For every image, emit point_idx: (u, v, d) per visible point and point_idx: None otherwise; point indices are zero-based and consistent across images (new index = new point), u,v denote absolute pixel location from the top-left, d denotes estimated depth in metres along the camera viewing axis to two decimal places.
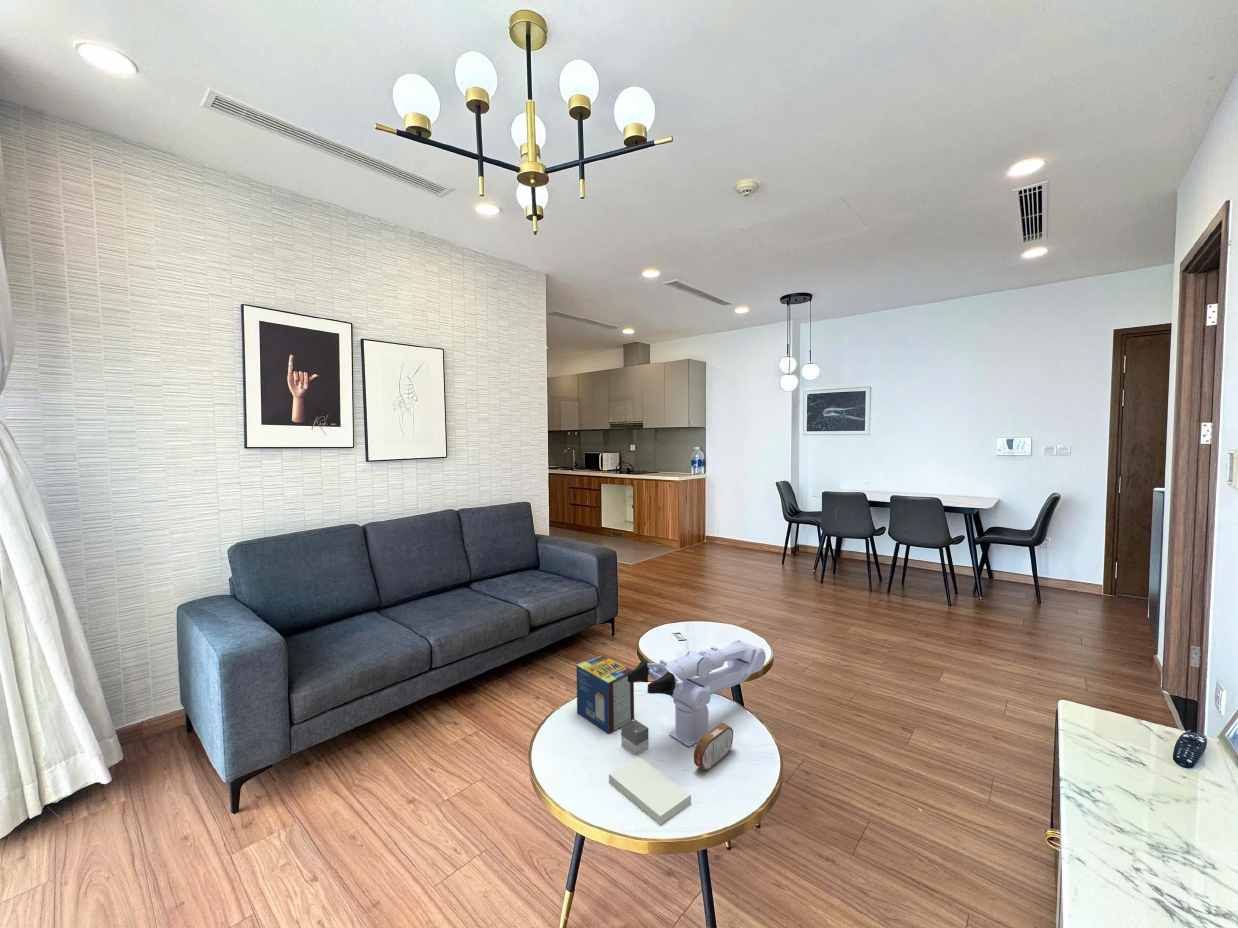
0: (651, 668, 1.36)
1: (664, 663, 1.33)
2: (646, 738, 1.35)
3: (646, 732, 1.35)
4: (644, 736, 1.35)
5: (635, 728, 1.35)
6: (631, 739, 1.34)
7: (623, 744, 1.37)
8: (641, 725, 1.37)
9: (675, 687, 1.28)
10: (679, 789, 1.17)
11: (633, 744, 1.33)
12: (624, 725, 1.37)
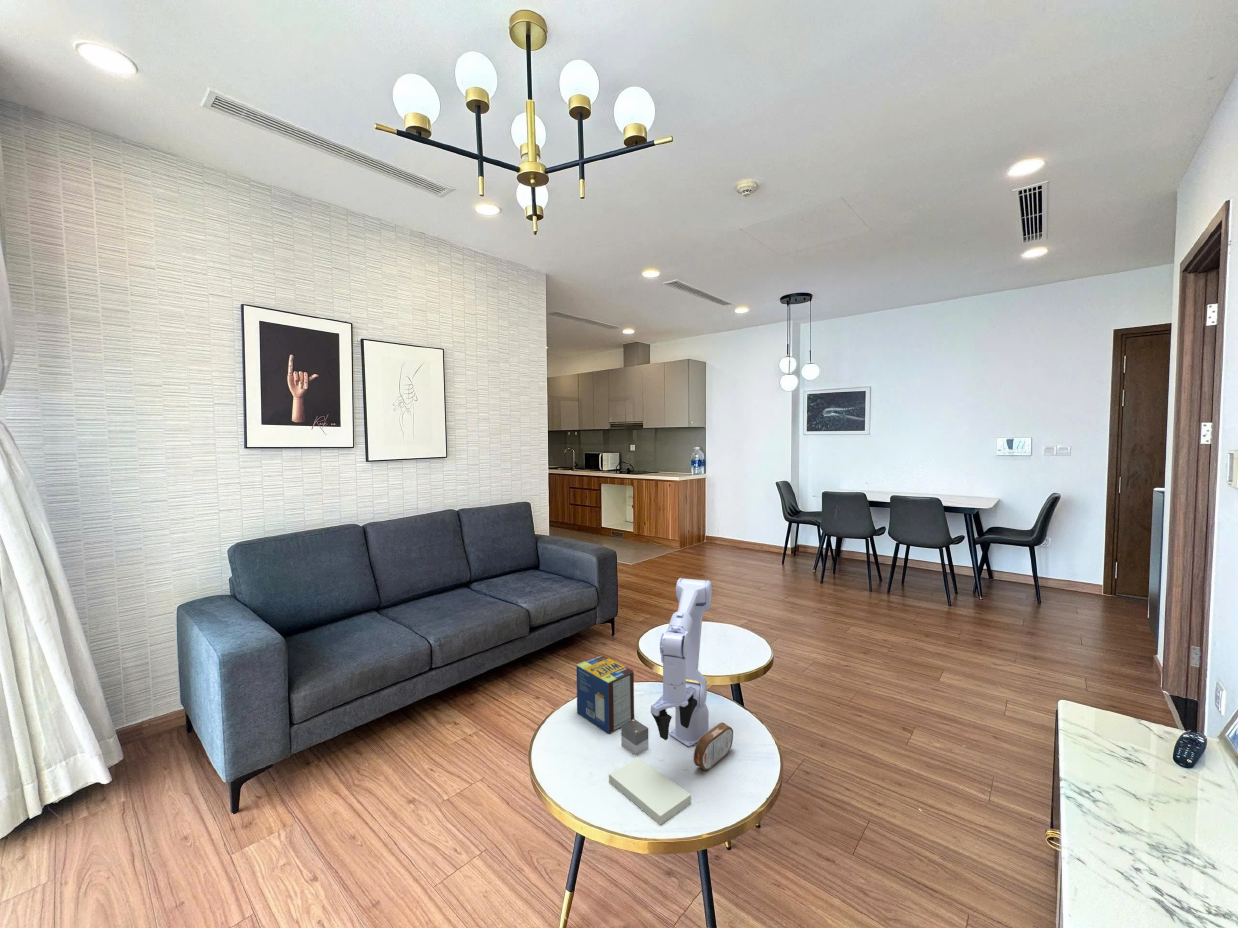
0: None
1: None
2: (646, 738, 1.35)
3: (646, 732, 1.35)
4: (644, 736, 1.35)
5: (635, 728, 1.35)
6: (631, 739, 1.34)
7: (623, 744, 1.37)
8: (641, 725, 1.37)
9: None
10: (679, 789, 1.17)
11: (633, 744, 1.33)
12: (624, 725, 1.37)
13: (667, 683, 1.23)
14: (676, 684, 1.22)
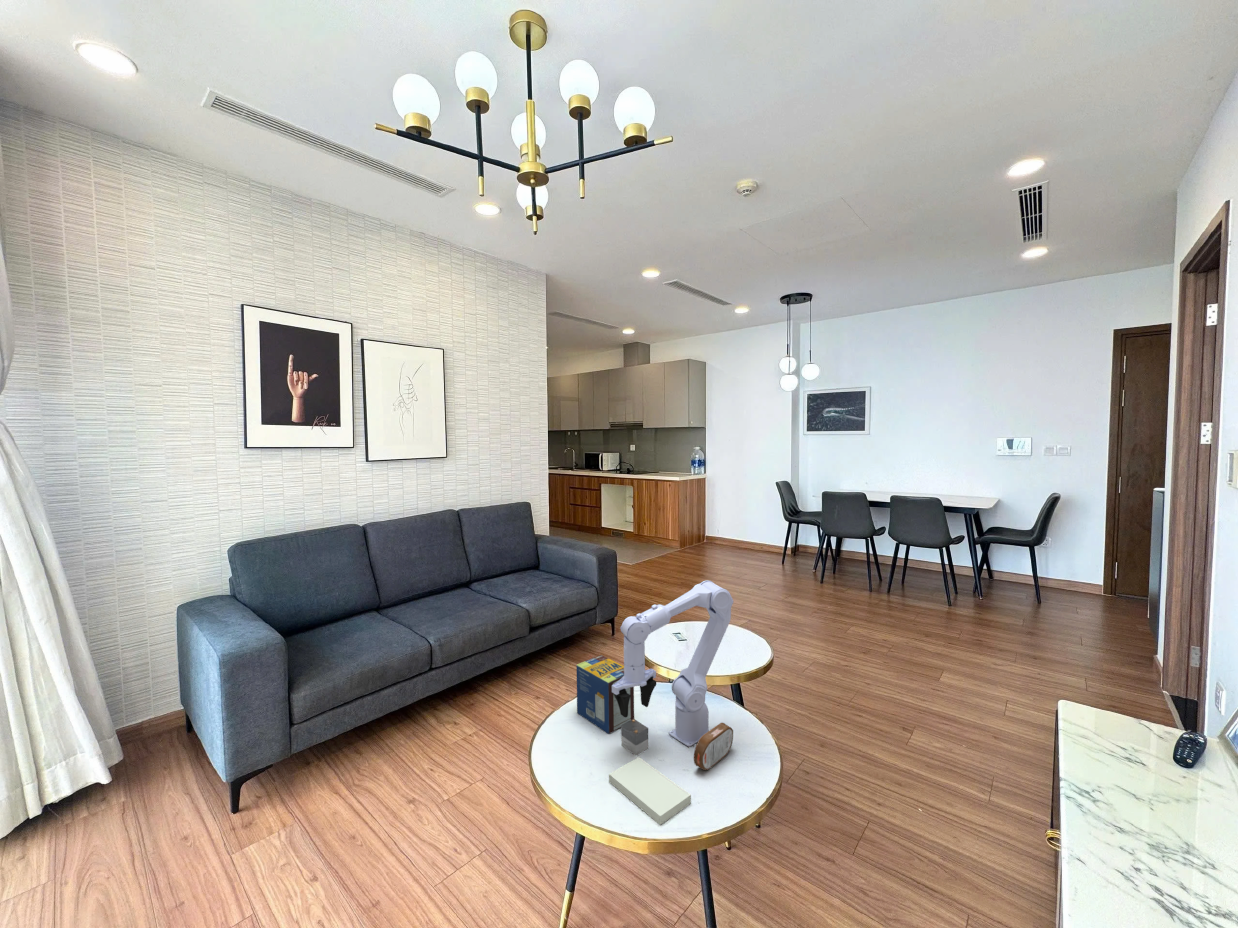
0: None
1: None
2: (646, 738, 1.35)
3: (646, 732, 1.35)
4: (644, 736, 1.35)
5: (635, 728, 1.35)
6: (631, 739, 1.34)
7: (623, 744, 1.37)
8: (641, 725, 1.37)
9: None
10: (679, 789, 1.17)
11: (633, 744, 1.33)
12: (624, 725, 1.37)
13: (627, 665, 1.33)
14: (626, 664, 1.33)
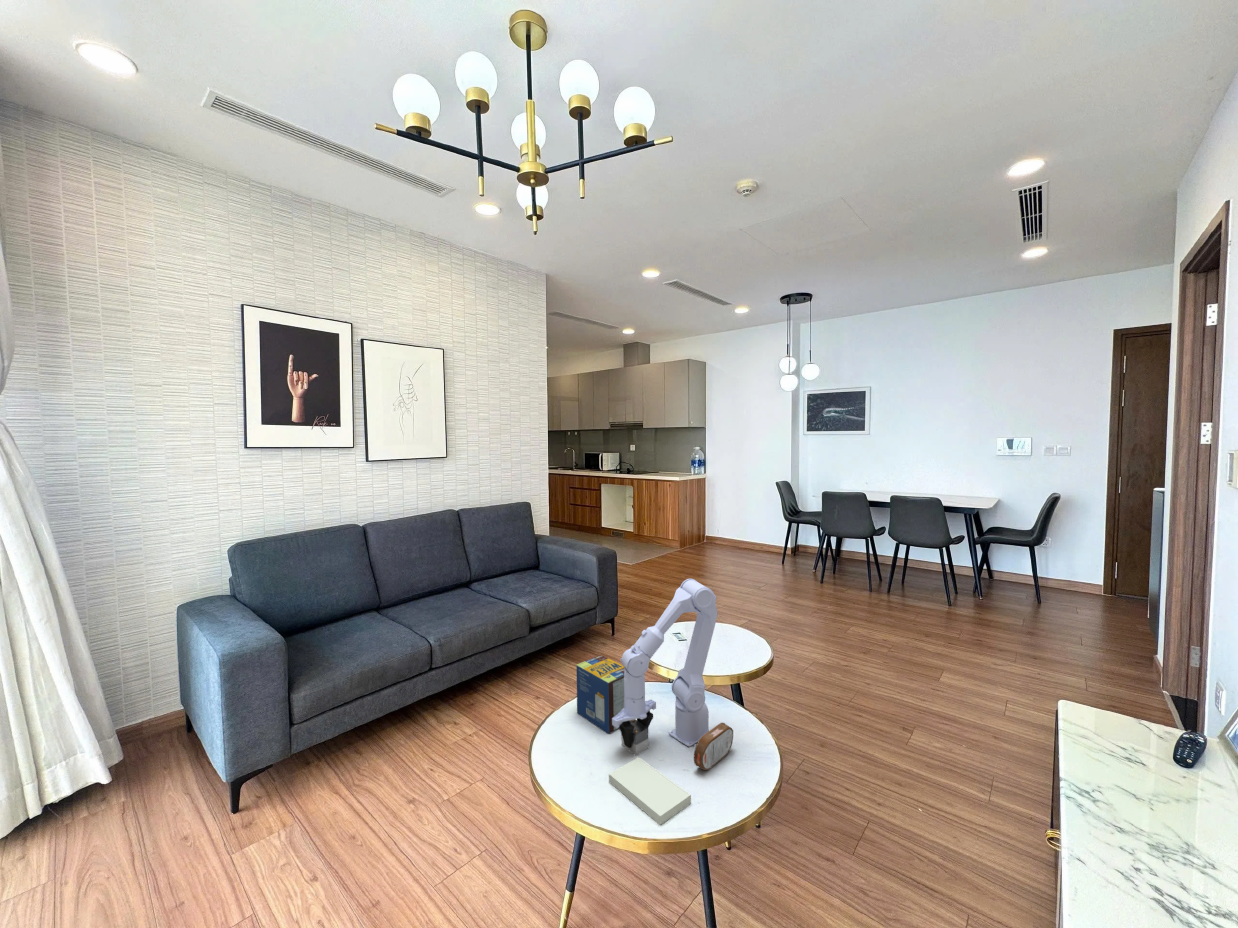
0: None
1: None
2: (646, 738, 1.35)
3: (646, 732, 1.35)
4: (644, 736, 1.35)
5: (635, 728, 1.35)
6: None
7: (623, 744, 1.37)
8: (641, 725, 1.37)
9: None
10: (679, 789, 1.17)
11: (633, 744, 1.33)
12: None
13: (627, 697, 1.34)
14: (627, 696, 1.34)
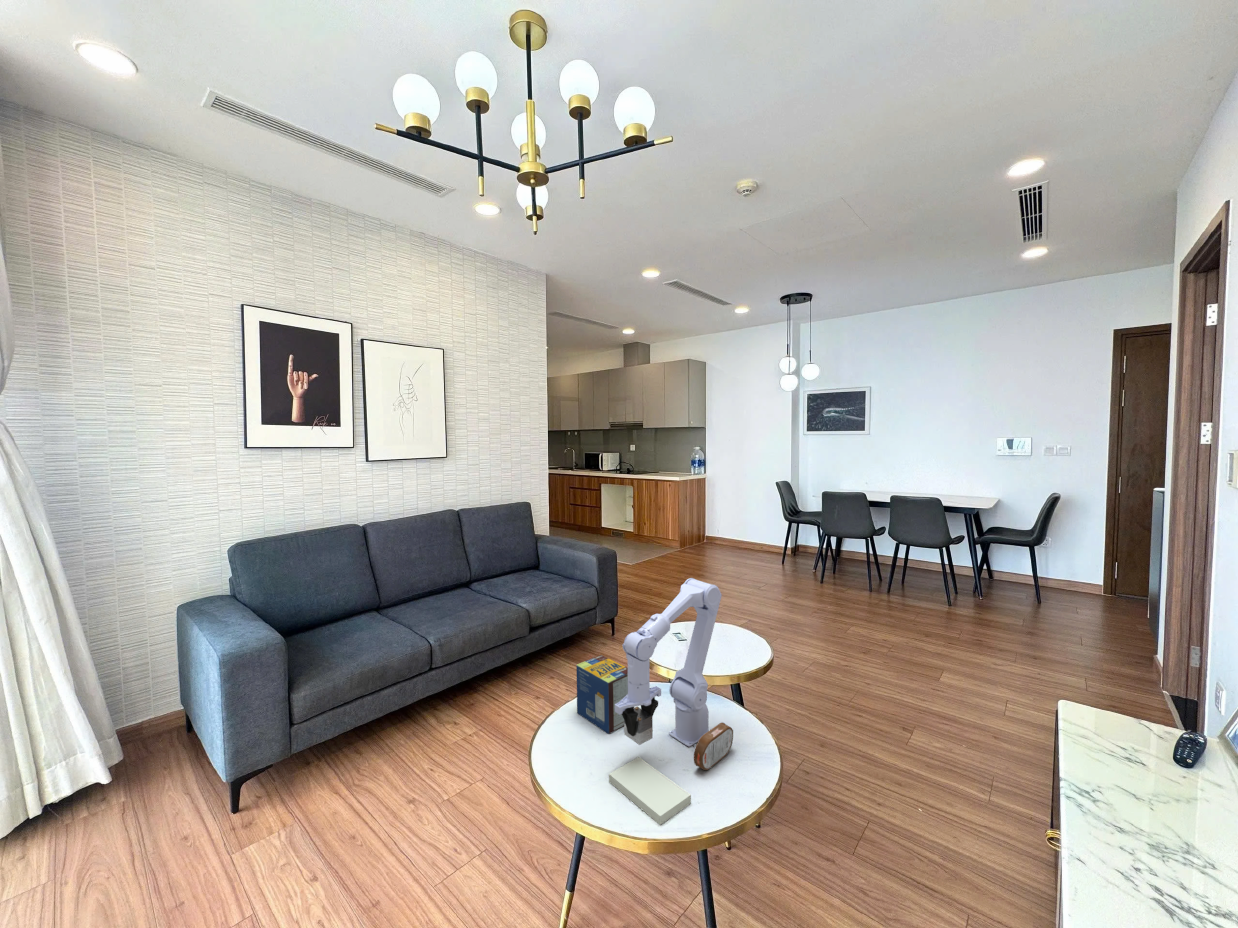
0: None
1: None
2: (650, 726, 1.29)
3: (650, 720, 1.29)
4: (648, 724, 1.28)
5: (638, 716, 1.29)
6: None
7: (626, 733, 1.30)
8: (645, 713, 1.30)
9: None
10: (679, 789, 1.17)
11: (636, 733, 1.27)
12: None
13: (631, 683, 1.27)
14: (633, 683, 1.27)
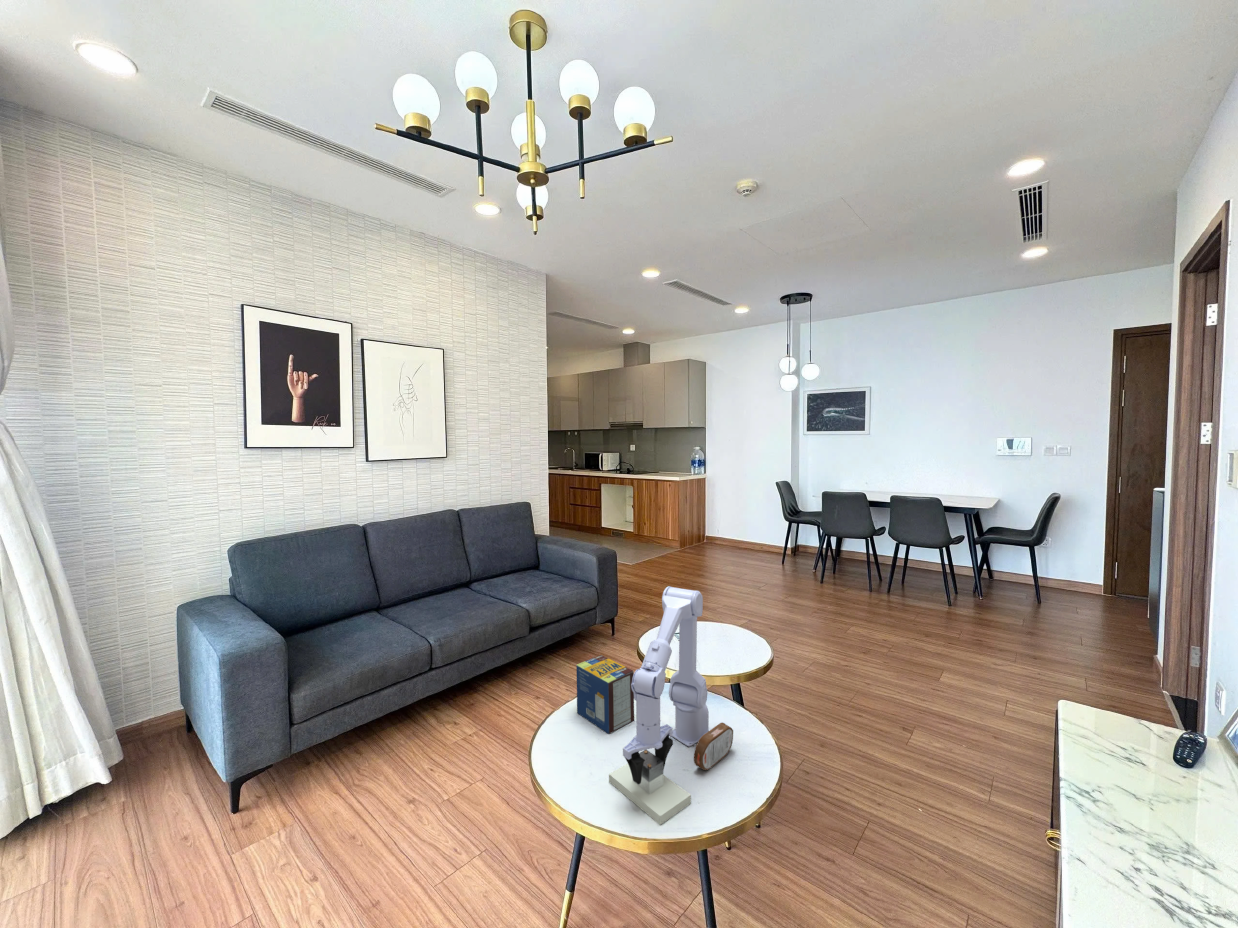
0: None
1: None
2: (661, 773, 1.18)
3: (661, 766, 1.18)
4: (658, 771, 1.17)
5: (648, 761, 1.18)
6: (644, 774, 1.17)
7: None
8: (655, 758, 1.20)
9: None
10: (679, 789, 1.17)
11: (646, 781, 1.16)
12: None
13: (640, 724, 1.16)
14: (648, 725, 1.15)
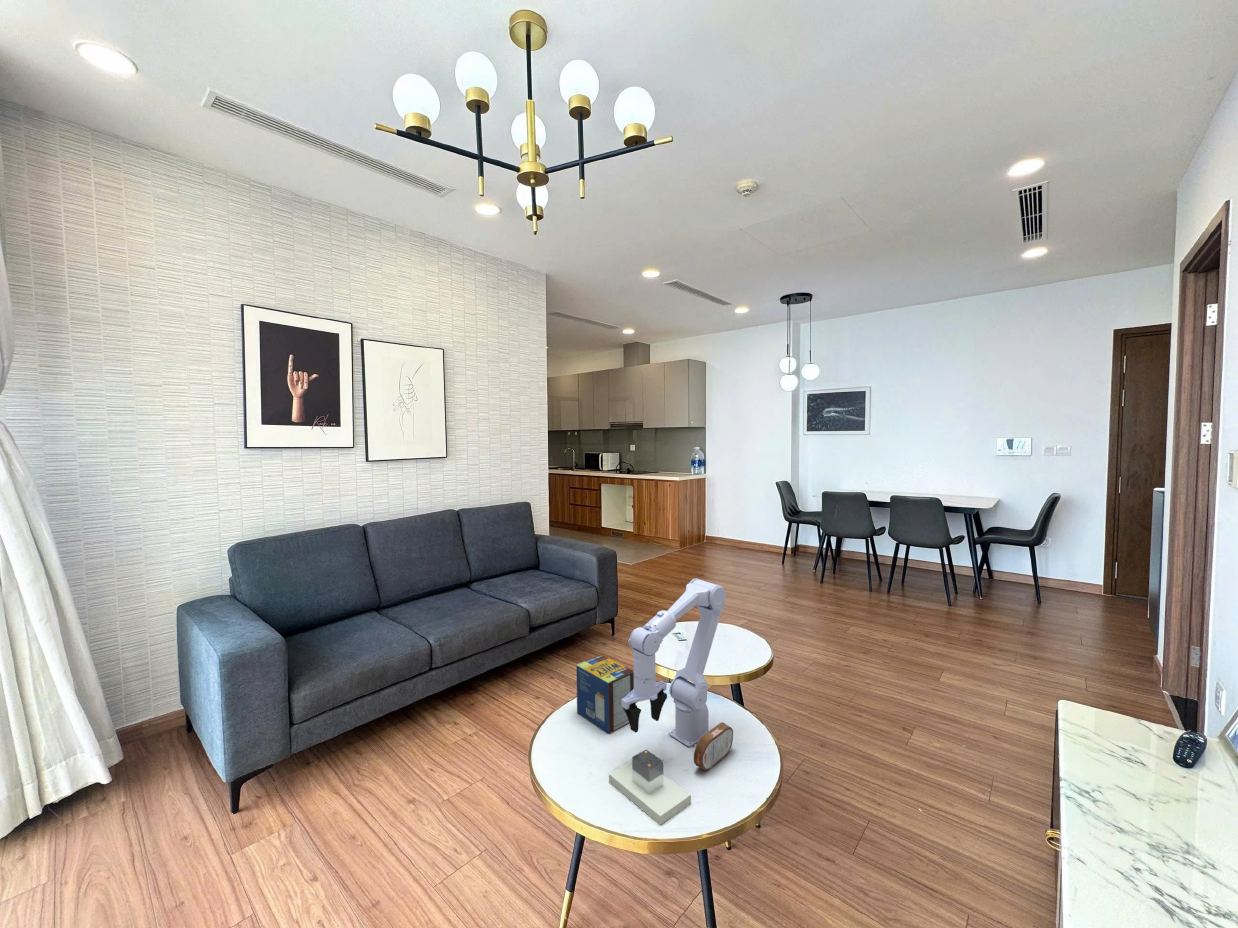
0: None
1: None
2: (661, 773, 1.18)
3: (661, 766, 1.18)
4: (658, 771, 1.17)
5: (648, 761, 1.18)
6: (644, 774, 1.17)
7: (634, 779, 1.20)
8: (655, 758, 1.20)
9: None
10: (679, 789, 1.17)
11: (646, 781, 1.16)
12: (635, 758, 1.20)
13: (637, 678, 1.28)
14: (640, 678, 1.28)
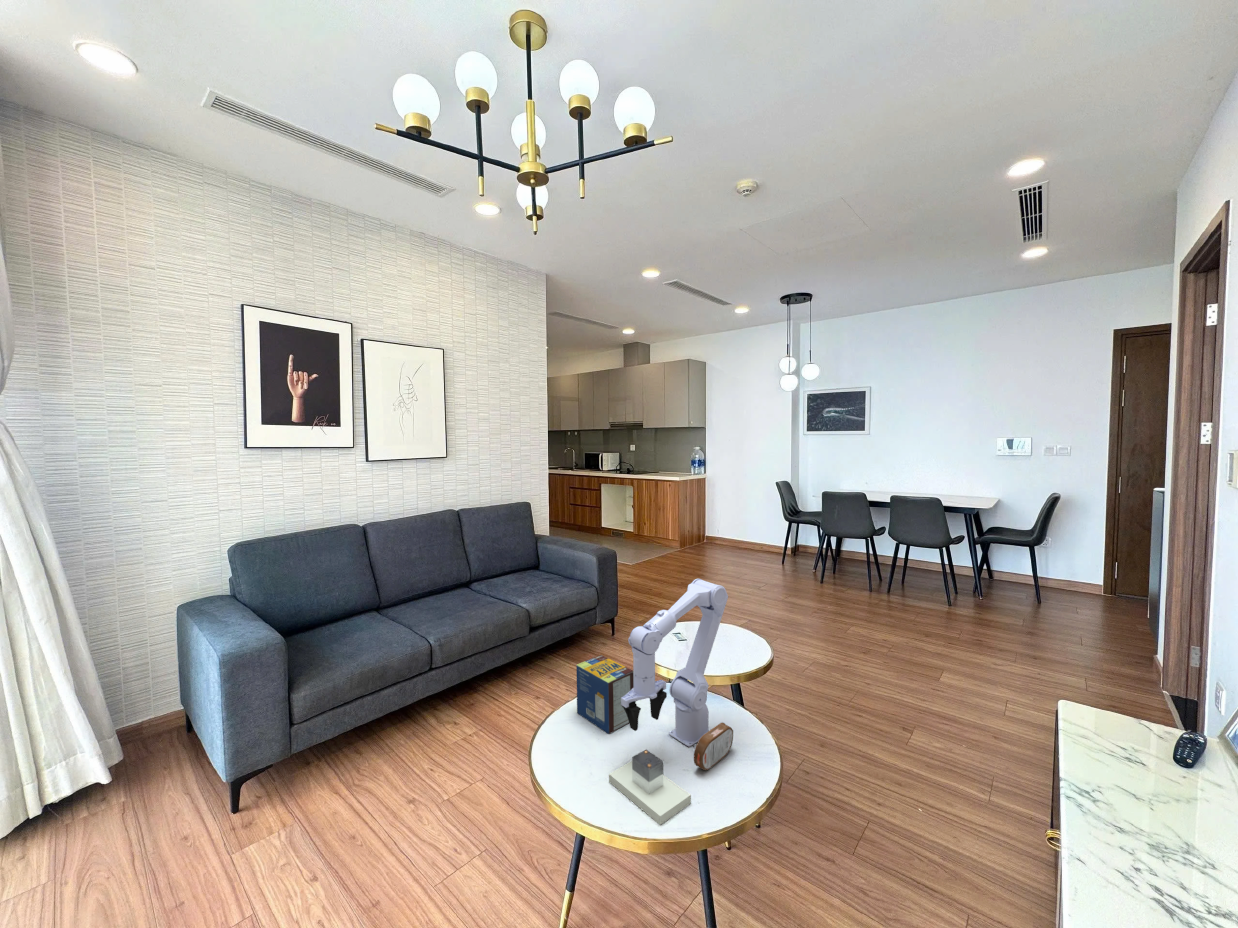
0: None
1: None
2: (661, 773, 1.18)
3: (661, 766, 1.18)
4: (658, 771, 1.17)
5: (648, 761, 1.18)
6: (644, 774, 1.17)
7: (634, 779, 1.20)
8: (655, 758, 1.20)
9: None
10: (679, 789, 1.17)
11: (646, 781, 1.16)
12: (635, 758, 1.20)
13: (637, 676, 1.29)
14: (639, 677, 1.28)
